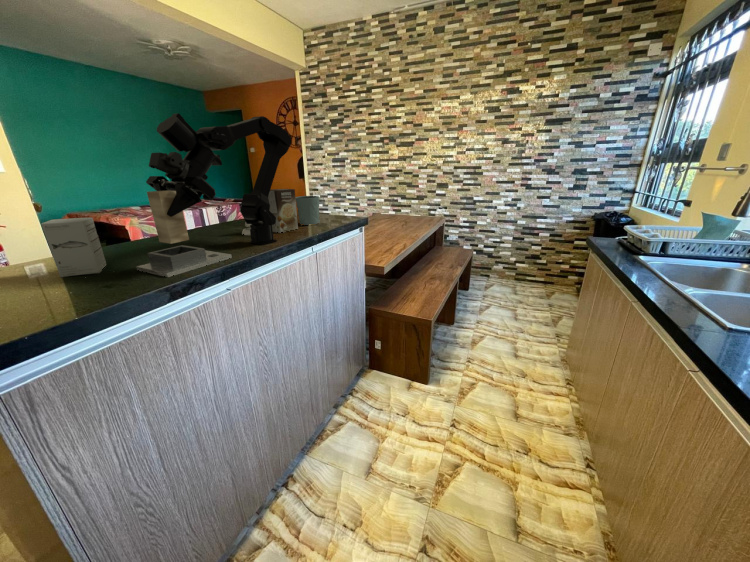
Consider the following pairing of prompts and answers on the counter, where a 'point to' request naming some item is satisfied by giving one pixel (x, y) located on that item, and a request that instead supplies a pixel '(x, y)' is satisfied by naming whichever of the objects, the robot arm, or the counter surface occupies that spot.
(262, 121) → the robot arm
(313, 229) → the counter surface
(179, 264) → the socket plate
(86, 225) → the supplement box
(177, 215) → the square peg
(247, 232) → the hook
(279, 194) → the coffee box
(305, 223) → the grey tapered cup
